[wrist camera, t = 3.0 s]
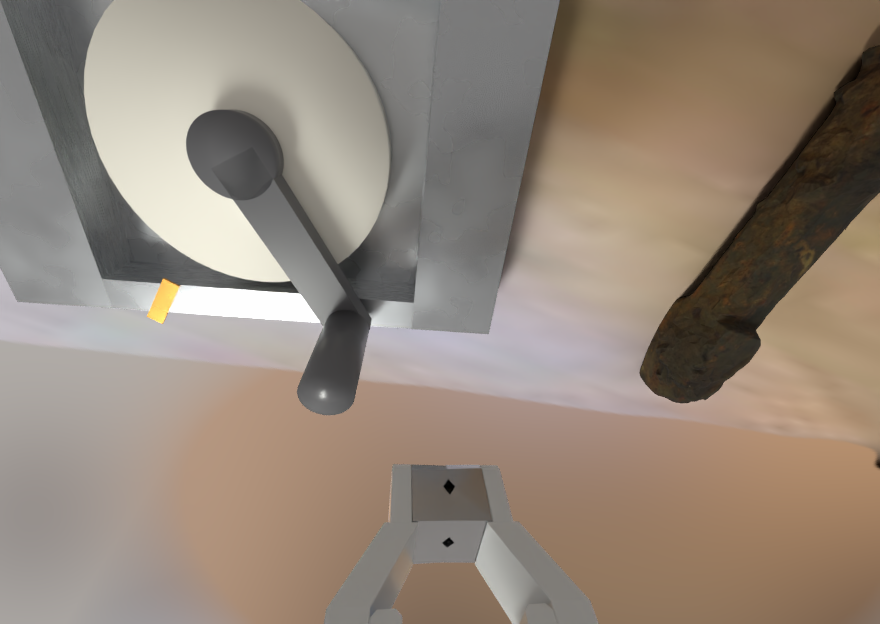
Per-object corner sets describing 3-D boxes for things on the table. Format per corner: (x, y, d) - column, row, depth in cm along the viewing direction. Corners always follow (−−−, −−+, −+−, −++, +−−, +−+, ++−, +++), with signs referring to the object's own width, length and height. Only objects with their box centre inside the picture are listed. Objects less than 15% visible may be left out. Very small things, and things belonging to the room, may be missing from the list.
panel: (544, -29, 14) (573, -60, 12) (478, 315, 22) (486, 345, 19) (-99, -142, 12) (-246, -212, 9) (75, 285, 20) (21, 314, 17)
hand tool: (854, 35, 16) (998, 13, 12) (911, 77, 17) (1062, 69, 13) (603, 358, 25) (639, 408, 21) (650, 374, 25) (694, 426, 21)
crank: (299, -84, 12) (167, -295, 6) (458, 273, 19) (479, 361, 13) (54, 68, 14) (-261, 37, 8) (280, 347, 21) (218, 459, 14)
